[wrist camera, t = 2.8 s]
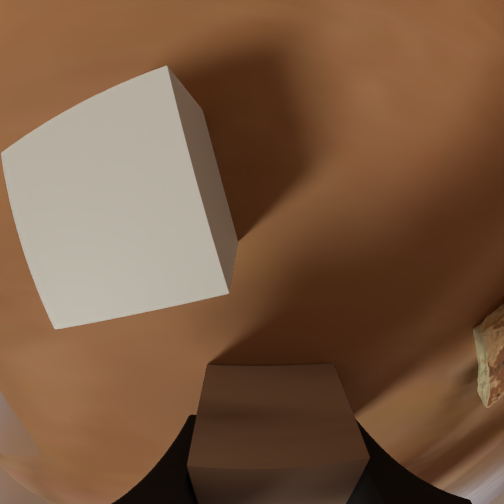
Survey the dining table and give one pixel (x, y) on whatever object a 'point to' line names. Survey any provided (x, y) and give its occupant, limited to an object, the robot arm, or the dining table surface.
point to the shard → (490, 356)
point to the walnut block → (275, 437)
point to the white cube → (122, 204)
